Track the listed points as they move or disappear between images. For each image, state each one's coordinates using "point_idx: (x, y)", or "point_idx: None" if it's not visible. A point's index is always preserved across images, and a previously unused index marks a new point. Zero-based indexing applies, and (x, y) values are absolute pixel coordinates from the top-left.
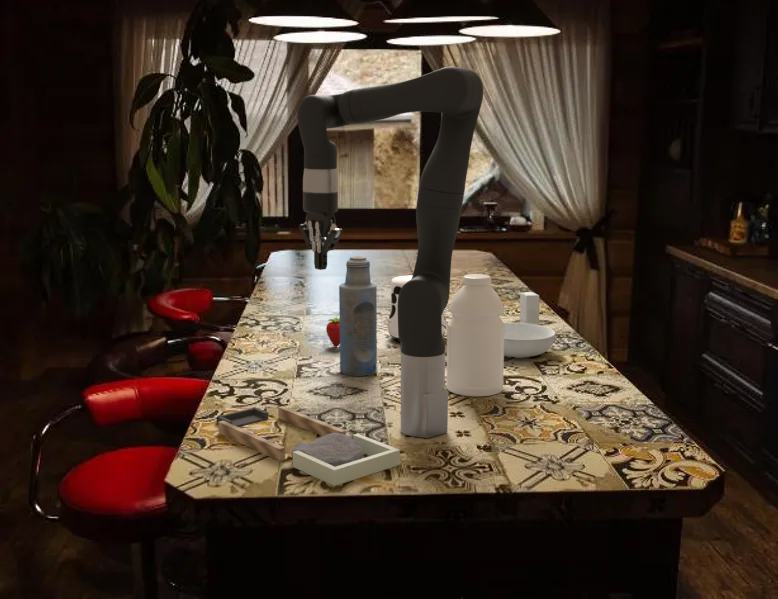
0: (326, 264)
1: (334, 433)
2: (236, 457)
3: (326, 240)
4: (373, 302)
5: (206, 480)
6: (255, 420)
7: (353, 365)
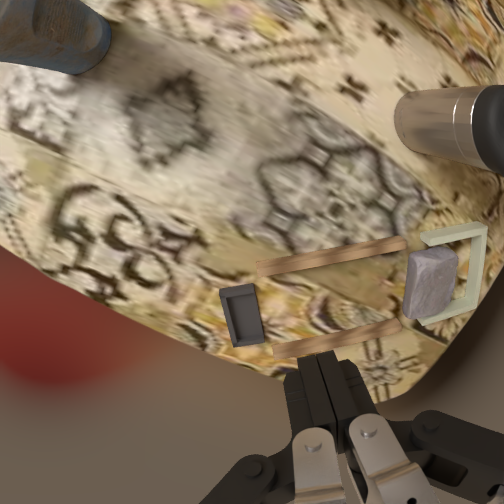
0: (356, 370)
1: (424, 272)
2: (356, 354)
3: (456, 489)
4: None
5: (384, 384)
6: (255, 302)
7: (93, 57)
